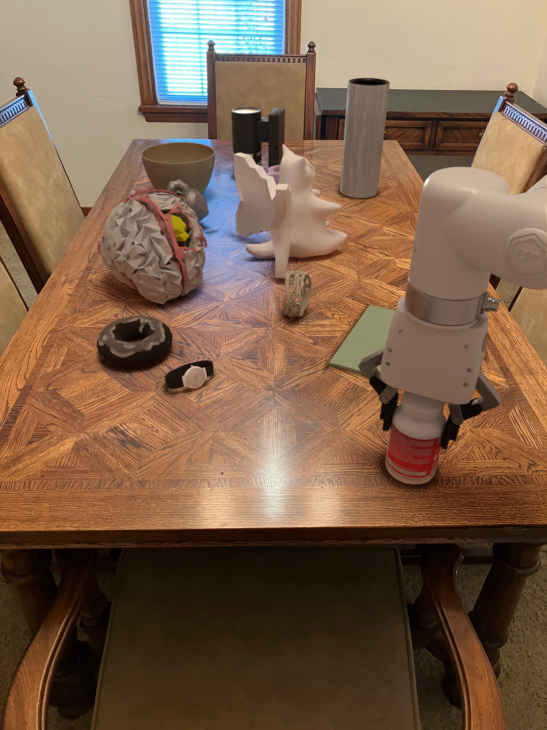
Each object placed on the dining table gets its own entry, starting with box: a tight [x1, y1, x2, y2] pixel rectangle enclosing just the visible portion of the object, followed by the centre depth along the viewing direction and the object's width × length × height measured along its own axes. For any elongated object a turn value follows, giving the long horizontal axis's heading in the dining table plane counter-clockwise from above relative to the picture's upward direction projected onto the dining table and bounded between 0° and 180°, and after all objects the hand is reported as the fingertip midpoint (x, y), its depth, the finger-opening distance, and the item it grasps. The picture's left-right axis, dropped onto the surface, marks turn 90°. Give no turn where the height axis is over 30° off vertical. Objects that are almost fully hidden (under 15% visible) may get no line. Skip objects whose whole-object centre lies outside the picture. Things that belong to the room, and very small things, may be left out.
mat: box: [328, 304, 396, 376], centre depth 92 cm, size 20×20×1 cm
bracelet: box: [281, 269, 313, 318], centre depth 99 cm, size 4×8×8 cm, turn 166°
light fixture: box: [230, 106, 286, 179], centre depth 158 cm, size 10×14×18 cm
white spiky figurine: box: [232, 143, 348, 279], centre depth 116 cm, size 25×21×21 cm
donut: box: [96, 315, 174, 369], centre depth 90 cm, size 12×12×4 cm
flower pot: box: [140, 141, 216, 196], centre depth 145 cm, size 18×18×12 cm
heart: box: [167, 180, 210, 223], centre depth 130 cm, size 10×10×12 cm
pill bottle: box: [385, 391, 447, 485], centre depth 68 cm, size 6×6×11 cm
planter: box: [339, 77, 391, 199], centre depth 146 cm, size 10×10×27 cm
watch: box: [164, 359, 215, 390], centre depth 84 cm, size 8×5×4 cm, turn 126°
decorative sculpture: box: [97, 188, 208, 305], centre depth 105 cm, size 19×21×20 cm
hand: (416, 431), depth 67 cm, fingers closed on pill bottle, 6 cm apart
